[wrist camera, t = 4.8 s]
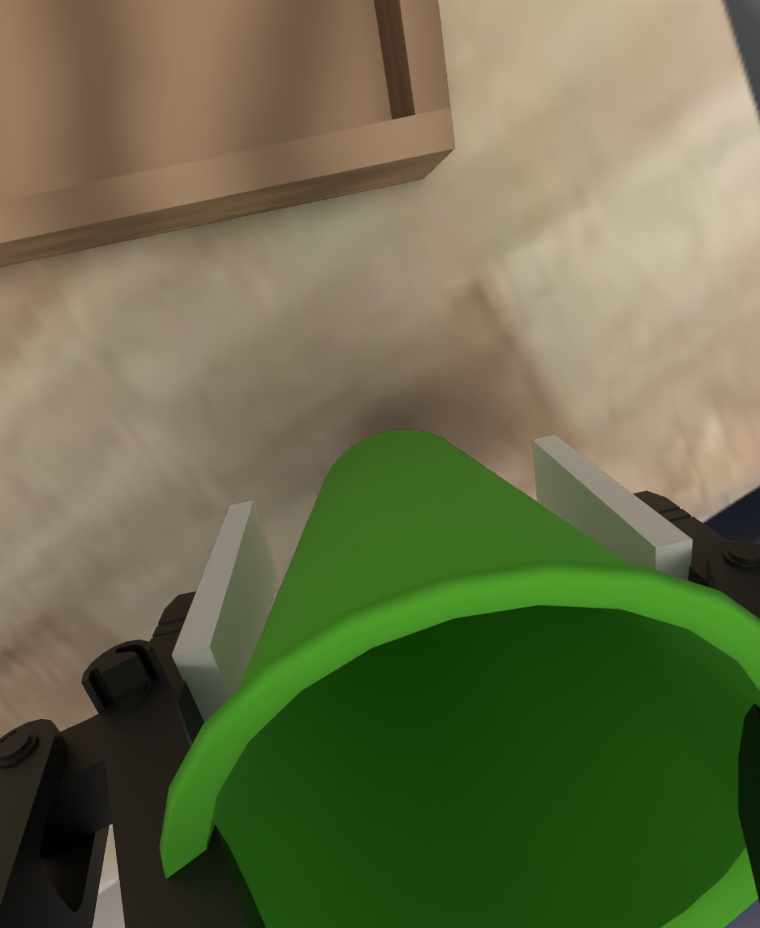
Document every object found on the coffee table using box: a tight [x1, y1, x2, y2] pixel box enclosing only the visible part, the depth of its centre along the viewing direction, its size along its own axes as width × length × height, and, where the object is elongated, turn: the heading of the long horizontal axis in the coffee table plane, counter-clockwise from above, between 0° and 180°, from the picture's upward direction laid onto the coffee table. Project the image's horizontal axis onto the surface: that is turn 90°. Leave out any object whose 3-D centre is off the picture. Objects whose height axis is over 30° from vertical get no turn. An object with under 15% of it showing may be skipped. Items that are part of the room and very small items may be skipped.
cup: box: [160, 429, 760, 928], centre depth 12 cm, size 9×9×11 cm
